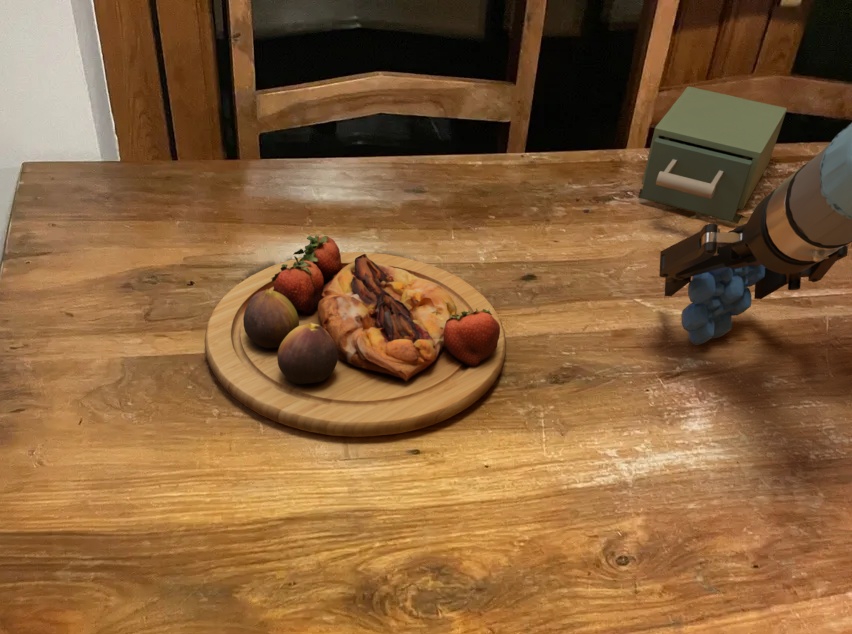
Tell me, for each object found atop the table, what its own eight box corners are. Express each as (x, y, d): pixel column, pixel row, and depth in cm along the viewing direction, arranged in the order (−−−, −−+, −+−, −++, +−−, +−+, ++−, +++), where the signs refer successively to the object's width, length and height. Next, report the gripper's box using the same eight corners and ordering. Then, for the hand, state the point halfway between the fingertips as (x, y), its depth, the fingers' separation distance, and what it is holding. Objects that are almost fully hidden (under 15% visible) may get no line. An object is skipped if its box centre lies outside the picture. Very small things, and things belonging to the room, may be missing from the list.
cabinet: (738, 223, 122) (761, 153, 115) (638, 197, 126) (654, 127, 119) (764, 176, 131) (787, 108, 124) (670, 153, 135) (688, 85, 128)
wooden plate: (556, 329, 104) (569, 261, 98) (399, 487, 87) (403, 416, 80) (325, 241, 115) (323, 174, 109) (143, 365, 97) (128, 294, 91)
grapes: (717, 307, 109) (739, 203, 101) (765, 328, 105) (792, 222, 97) (648, 339, 105) (666, 233, 96) (696, 363, 101) (718, 255, 92)
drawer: (720, 242, 117) (738, 185, 111) (625, 217, 120) (638, 160, 114) (758, 176, 129) (776, 121, 123) (671, 155, 132) (684, 101, 127)
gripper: (678, 259, 82) (613, 316, 104) (926, 267, 82) (809, 322, 105) (682, 171, 81) (616, 247, 103) (932, 180, 82) (813, 253, 104)
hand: (713, 285), depth 104 cm, fingers closed on grapes, 9 cm apart
